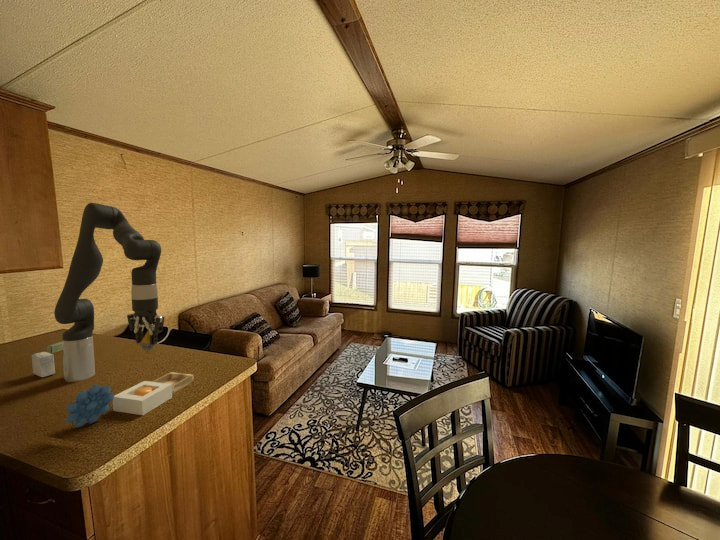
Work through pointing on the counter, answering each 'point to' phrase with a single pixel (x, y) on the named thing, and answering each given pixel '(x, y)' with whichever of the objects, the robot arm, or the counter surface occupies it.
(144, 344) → the drill bit
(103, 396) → the grapes
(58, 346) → the medication box
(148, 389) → the button
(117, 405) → the frame
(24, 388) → the counter surface
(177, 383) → the tray
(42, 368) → the medicine box
